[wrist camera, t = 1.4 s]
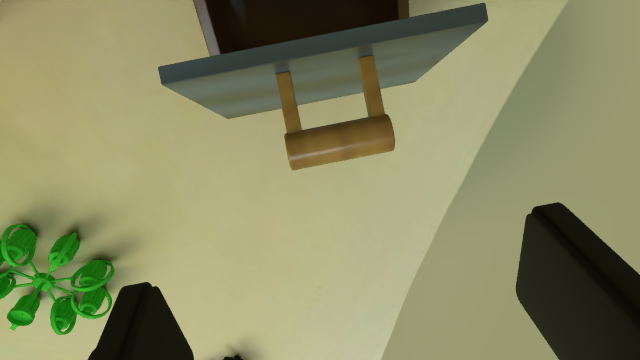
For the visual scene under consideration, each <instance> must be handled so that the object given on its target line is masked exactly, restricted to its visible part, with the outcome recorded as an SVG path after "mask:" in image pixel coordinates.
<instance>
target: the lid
mask: <svg viewBox="0 0 640 360" xmlns="http://www.w3.org/2000/svg"><path fill="white" fill-rule="evenodd" d="M487 21H488V16H487V10H486V4H485V3H480V4H475V5H470V6H465V7H460V8H455V9H450V10H445V11H440V12H435V13H430V14H424V15H419V16H414V17H409V18H404V19H399V20H394V21H389V22H384V23H379V24H374V25H368V26H363V27H358V28H353V29H348V30H343V31H338V32H333V33H328V34H323V35H318V36H312V37H307V38H302V39H297V40H292V41H287V42H282V43H277V44H272V45H267V46H262V47H256V48H251V49H246V50H241V51H236V52H231V53H226V54H221V55H216V56H211V57H206V58H200V59H195V60H190V61H185V62H180V63H175V64H170V65H165V66H160V67H158V70H159V74H160V79H161V84H162V85H163V86H165V87H167V88H169V89H171V90H173V91H175V92H177V93H179V94H181V95H183V96H185V97H186V98H188V99H190V100H192V101H194V102H196V103H198V104H200V105H202V106H204V107H206V108H208V109H210V110H212V111H214V112H215V113H217V114H219V115H221V116H223V117H225V118H227V119H230V118H236V117H241V116H246V115H251V114H256V113H261V112H266V111H271V110H276V109H281V108H282V110H283V115H284V120H285V125H286V130H287V133H286V134H285V136H284V137H285V145H286V150H287V155H288V160H289V164H290V167H291V169H292V170H298V169H303V168H308V167H313V166H318V165H323V164H328V163H333V162H338V161H343V160H348V159H353V158H358V157H364V156H369V155H374V154H379V153H384V152H389V151H393V150H394V147H395V138H394V131H393V126H392V123H391V120H390V118H389V116H388V115H387V114H385V113H384V107H383V102H382V97H381V92H380V89H383V88H388V87H393V86H398V85H403V84H408V83H413V82H415V81H417V80H418V79H419V78H420V77H421V76H423V75H424V74H425V73H426V72H427V71H429V70H430V69H431V68H432V67H433V66H435V65H436V64H437V63H438V62H439V61H441V60H442V59H443V58H444V57H445V56H447V55H448V54H449V53H450V52H451V51H453V50H454V49H455V48H456V47H457V46H459V45H460V44H461V43H462V42H463V41H465V40H466V39H467V38H468V37H469V36H471V35H472V34H473V33H474V32H475V31H477V30H478V29H479V28H480V27H481V26H483V25H484V24H485V23H486V22H487ZM363 92H364V96H365V102H366V107H367V112H368V117H367V118H362V119H357V120H351V121H346V122H341V123H336V124H331V125H326V126H321V127H316V128H311V129H306V130H302V128H301V123H300V118H299V113H298V108H297V105H302V104H307V103H312V102H317V101H322V100H327V99H332V98H337V97H342V96H347V95H352V94H357V93H363Z"/></svg>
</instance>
